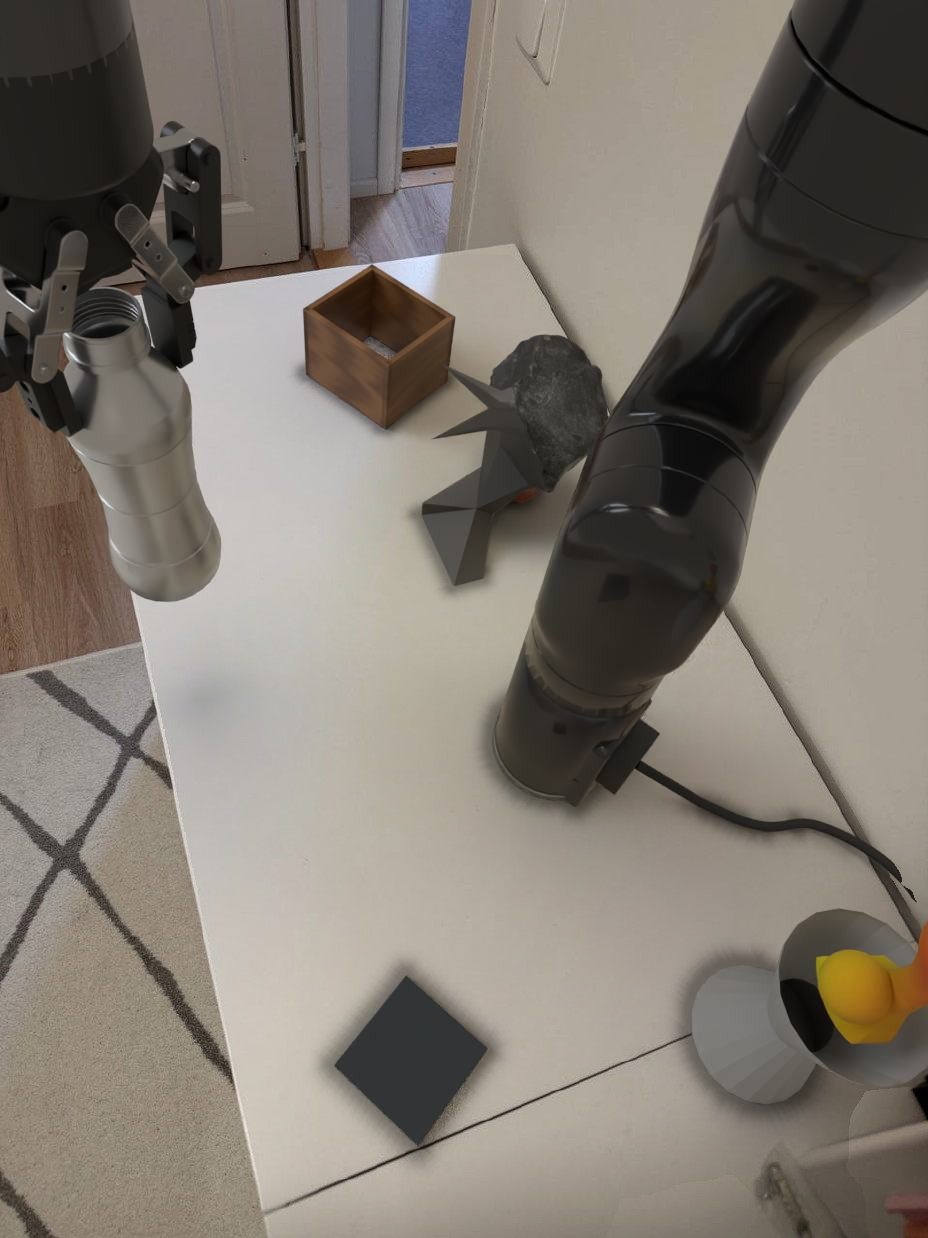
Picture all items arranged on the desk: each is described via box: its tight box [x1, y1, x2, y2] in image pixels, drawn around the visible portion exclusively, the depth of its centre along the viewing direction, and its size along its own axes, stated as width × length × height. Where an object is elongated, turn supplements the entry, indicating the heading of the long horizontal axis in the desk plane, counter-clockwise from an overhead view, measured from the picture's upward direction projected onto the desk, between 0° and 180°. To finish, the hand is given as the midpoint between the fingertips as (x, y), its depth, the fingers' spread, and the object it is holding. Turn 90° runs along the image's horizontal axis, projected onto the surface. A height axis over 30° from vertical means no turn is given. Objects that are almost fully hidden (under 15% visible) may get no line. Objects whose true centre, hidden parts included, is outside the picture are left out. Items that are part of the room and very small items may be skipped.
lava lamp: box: [691, 907, 928, 1105], centre depth 46 cm, size 9×9×35 cm
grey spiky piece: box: [421, 333, 609, 587], centre depth 75 cm, size 14×15×18 cm
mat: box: [334, 975, 488, 1146], centre depth 57 cm, size 7×7×1 cm
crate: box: [302, 263, 456, 430], centre depth 87 cm, size 11×10×8 cm
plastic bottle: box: [62, 286, 222, 603], centre depth 48 cm, size 6×7×20 cm
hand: (121, 388), depth 43 cm, fingers closed on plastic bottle, 6 cm apart
